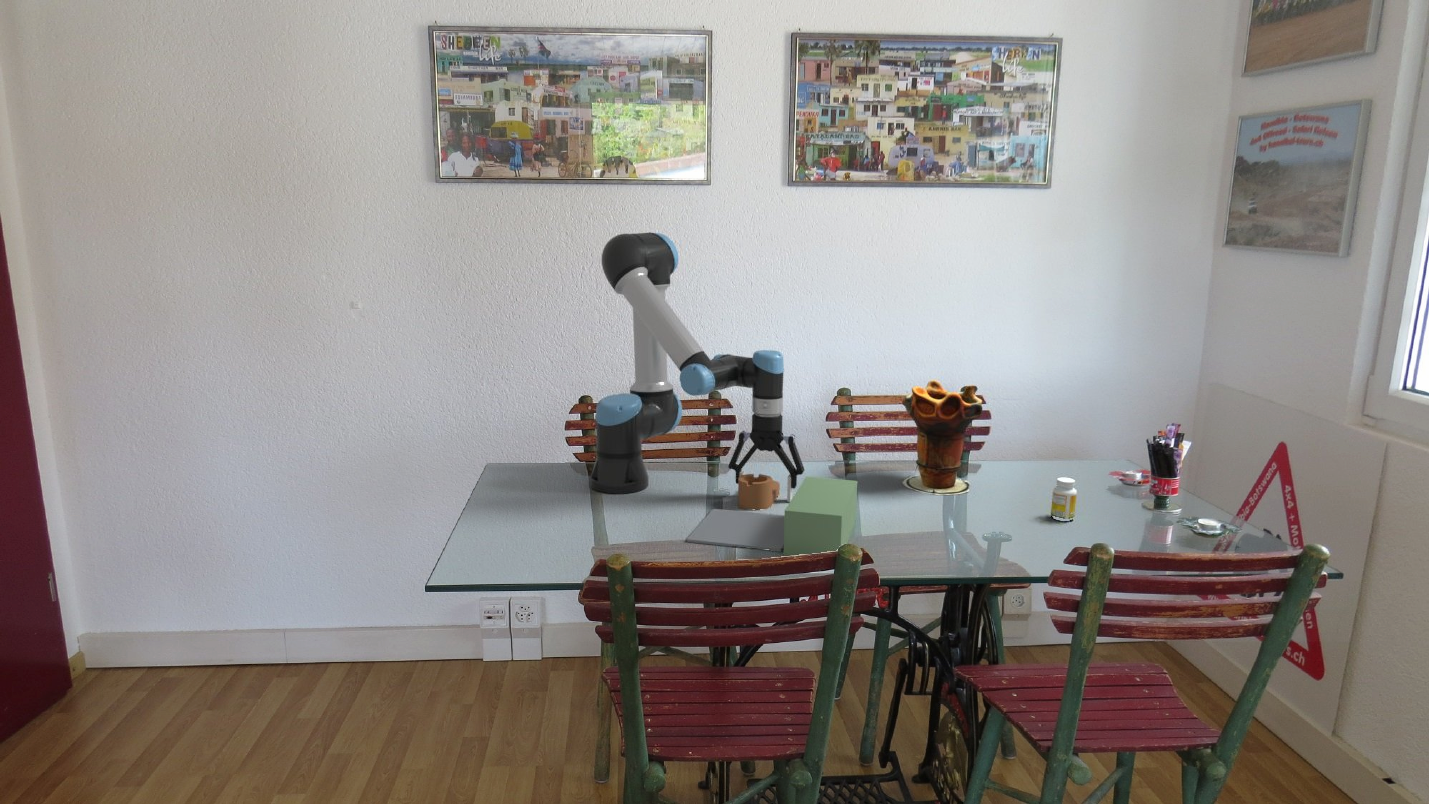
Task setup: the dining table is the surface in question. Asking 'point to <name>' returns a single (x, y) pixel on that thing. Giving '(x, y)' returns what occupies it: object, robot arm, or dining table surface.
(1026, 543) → the dining table surface
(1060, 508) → the supplement bottle
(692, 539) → the green cube on tray
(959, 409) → the decorative vase
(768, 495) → the bracket
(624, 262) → the robot arm
